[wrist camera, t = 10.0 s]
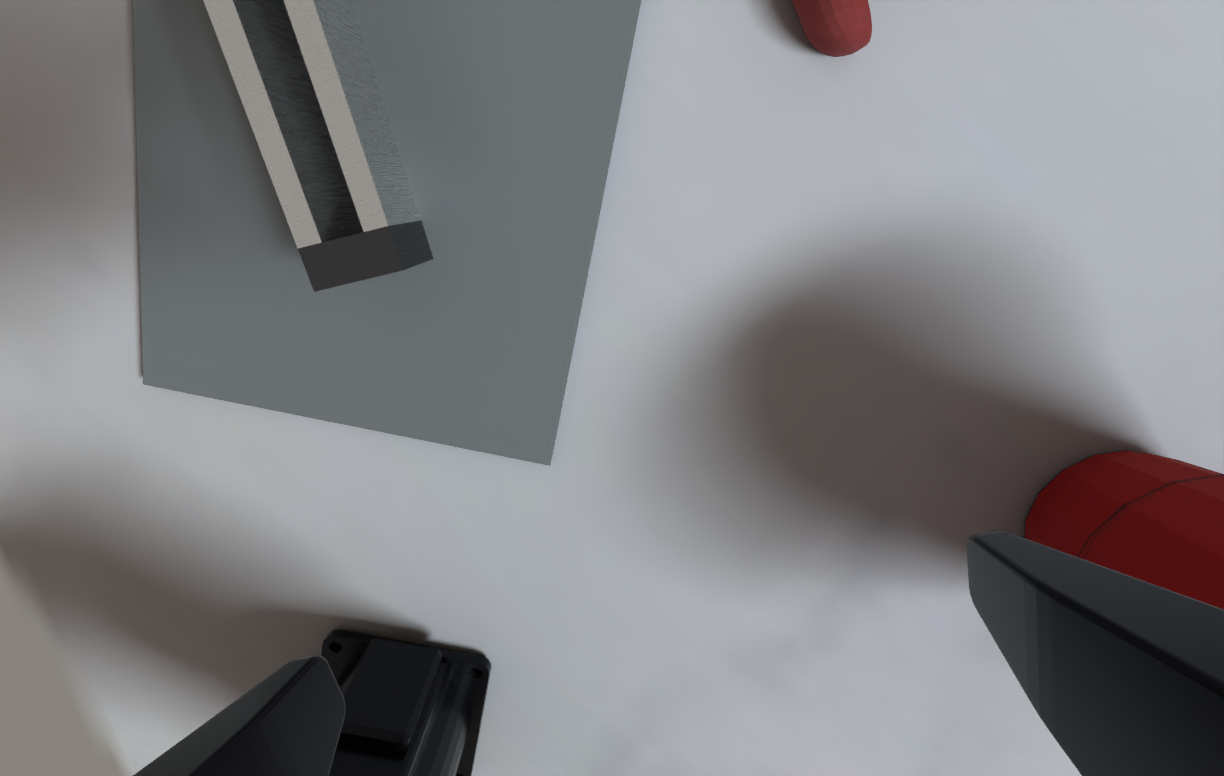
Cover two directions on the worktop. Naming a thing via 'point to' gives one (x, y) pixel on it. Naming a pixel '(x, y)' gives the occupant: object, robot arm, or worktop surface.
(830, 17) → the pliers
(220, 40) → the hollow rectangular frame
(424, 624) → the worktop surface
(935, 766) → the worktop surface
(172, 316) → the mat
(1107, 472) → the plastic cup
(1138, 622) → the robot arm
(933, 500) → the worktop surface
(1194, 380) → the worktop surface
